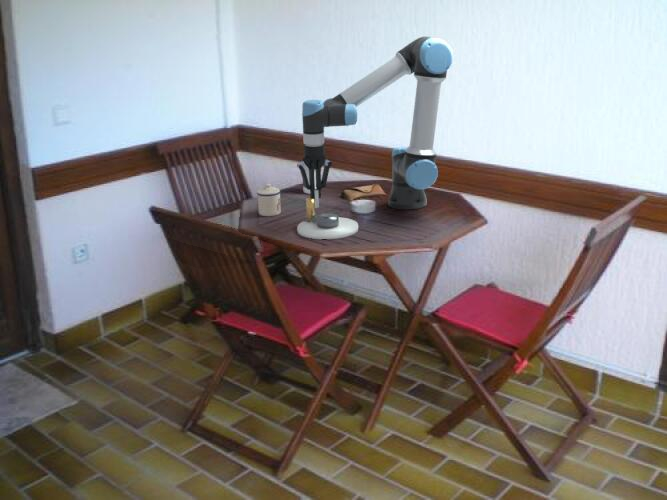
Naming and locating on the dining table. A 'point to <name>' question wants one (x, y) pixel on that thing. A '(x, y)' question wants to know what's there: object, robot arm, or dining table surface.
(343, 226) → the dial plate
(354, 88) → the robot arm
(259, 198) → the teacup with lid
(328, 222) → the lever
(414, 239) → the dining table surface
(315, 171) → the milk bottle
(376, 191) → the sunglasses case
